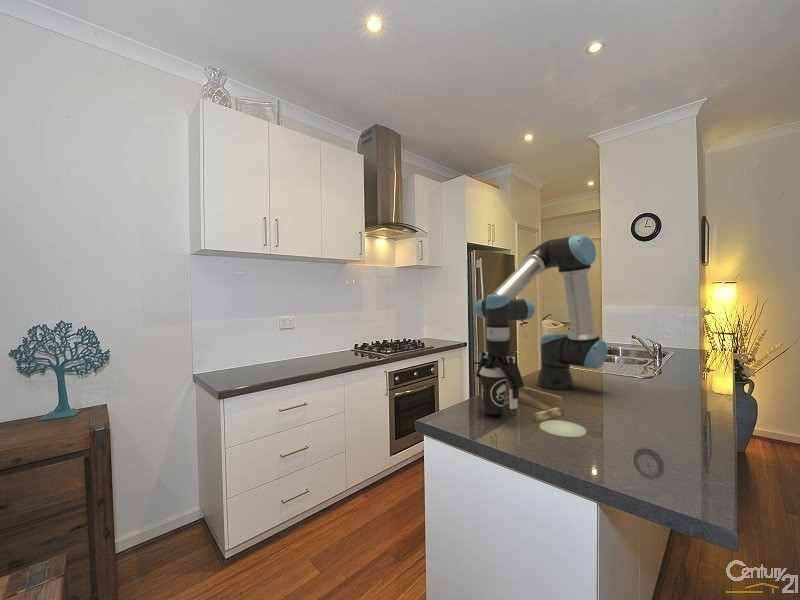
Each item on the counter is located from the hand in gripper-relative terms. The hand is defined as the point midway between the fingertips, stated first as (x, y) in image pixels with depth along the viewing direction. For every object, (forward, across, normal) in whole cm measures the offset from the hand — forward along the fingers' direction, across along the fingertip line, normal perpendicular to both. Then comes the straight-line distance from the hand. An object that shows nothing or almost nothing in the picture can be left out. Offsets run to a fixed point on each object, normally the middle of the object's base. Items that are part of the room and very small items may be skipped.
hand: (498, 403), depth 117 cm
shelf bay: (+5, 0, +13) cm, 14 cm away
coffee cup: (+4, -2, 0) cm, 4 cm away
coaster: (+5, +18, +9) cm, 20 cm away
